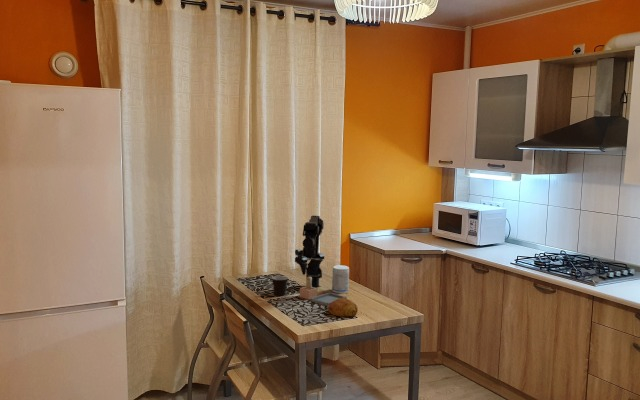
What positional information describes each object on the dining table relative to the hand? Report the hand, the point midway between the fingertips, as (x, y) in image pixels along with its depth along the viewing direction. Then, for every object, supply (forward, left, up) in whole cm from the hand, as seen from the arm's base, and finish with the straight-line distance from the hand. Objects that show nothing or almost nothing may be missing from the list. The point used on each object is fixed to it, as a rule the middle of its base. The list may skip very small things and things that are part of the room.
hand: (309, 273), depth 280 cm
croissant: (+7, +29, -14) cm, 33 cm away
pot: (+1, +1, -14) cm, 14 cm away
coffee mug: (+8, -14, -14) cm, 21 cm away
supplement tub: (-21, +6, -14) cm, 26 cm away
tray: (-2, +13, -14) cm, 19 cm away
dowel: (+1, +1, -13) cm, 13 cm away
